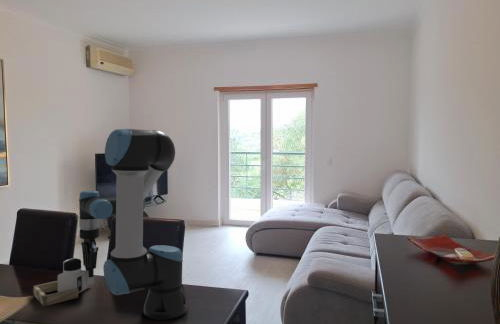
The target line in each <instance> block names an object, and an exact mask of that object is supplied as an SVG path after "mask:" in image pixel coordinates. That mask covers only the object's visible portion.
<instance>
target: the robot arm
mask: <svg viewBox="0 0 500 324" xmlns="http://www.w3.org/2000/svg"><path fill="white" fill-rule="evenodd" d="M104 157H105V162H106V164H107V165H109V166H111V172H113V174H115V176H116V178H115V179H116V181H115V183H116V186H115V190H116V191H115V193H116V194H115V195H116V196H113V197H101V196H100V191H98V190H84V191H83V190H82V191H81V192H80V193H79V196H78V197H79V199H78V202H79V204H78V205H79V208H78V209H79V219H78V221H79V225H78V226H79V239H81V240H83V241H81V243H80V245H81V249H82V250H81V251H82V262H83V267H84V268H85V271H86V283H87V286H91V285H94V283H95V281H94V280H95V279H94V276H95V275H94V274H95V273H94V271H95V270H94V269H96V268H97V259H98V251H99V247H98V246H97V241H96V239H97V238H99V237H100V228H99V227H100V221H101V220H105V219H107V218H109V217H115V247H114V249H112V250H111V251H110V259H107V260H105V262H104V263H103V277H104V280H105V283H106V285H107V288H108V290H109V291H110V292H111V294H113V295H115V296H120V295H127V294H130V293H135V292H137V291H141V290H145V289H148V293H147V295H146V299H145V302H144V305H143V315H144V316H145V317H147V319H152V320H155V321H166V320H173V319H176V318H179V317H181V316H183V315H184V314H185V313H186V312H187V309H188V307H187V305H188V303H187V300H186V297H185V294H184V293H185V292H184V290H183V262H184V260H183V252H182V250H181V249H180V248H179V247H176V246H173V245H172V246H171V245H161V244H160V245H157V244H156V245H152V246H150V247H149V248H148V249H147V248H146V247H144V245H143V243H144V242H143V241H144V237H143V236H144V210H145V207H146V200H145V199H146V197H147V196H148V194H149V193H150V191H151V190H152V188H153V187H154V185H155V184H156V183H157V182H158V180H159V179H160V177H161V176H162V174H163V173H164V172H166V171H168V170H169V169H170V168H171V166H172V165H173V162H174V161H175V157H176V147H175V144H174V142H173V140H172V138H170V137H169V136H168V135H167V134H166V133H165V132H162V131H160V130H155V129H154V130H151V129H150V130H149V129H148V130H147V129H134V128H118V129H114V130H113V131H111V132H110V134H109V136H108V137H107V139H106V142H105V147H104Z"/></svg>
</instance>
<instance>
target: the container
mask: <svg viewBox="0 0 500 324" xmlns="http://www.w3.org/2000/svg"><path fill="white" fill-rule="evenodd" d="M62 265H63V266H62V267H63V269H62V271H63V272H62V273H59V274H58V275H57V281H58V290H57V293H58V292H62V291H66V290H70V289H74V288H78V294H79V293H82V292H84V291H85V290H86V289H87V286H88V285H87V283H86V269H84V270H83V269H82V260H81V259H80V258H75V257H73V258H69V259H66V260H64V261H63V262H62Z"/></svg>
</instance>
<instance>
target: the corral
mask: <svg viewBox="0 0 500 324" xmlns="http://www.w3.org/2000/svg"><path fill="white" fill-rule="evenodd" d="M32 291H33V292H32V294H33V295H32V296H33V297H35V298H36V300H37V301H38V302H39V303H40V304H41V306H42V307H46V306H50V305H55V304H58V303H62V302H66V301H70V300H75V299H78V298H79V293H78V288H74V289H70V290H66V291H62V292H58V280H55V281H49V282H46V283H41V284H40V283H39V284H35V285H33V286H32ZM56 291H57V292H56ZM51 292H54V293H51ZM47 293H50V294H47Z"/></svg>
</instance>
